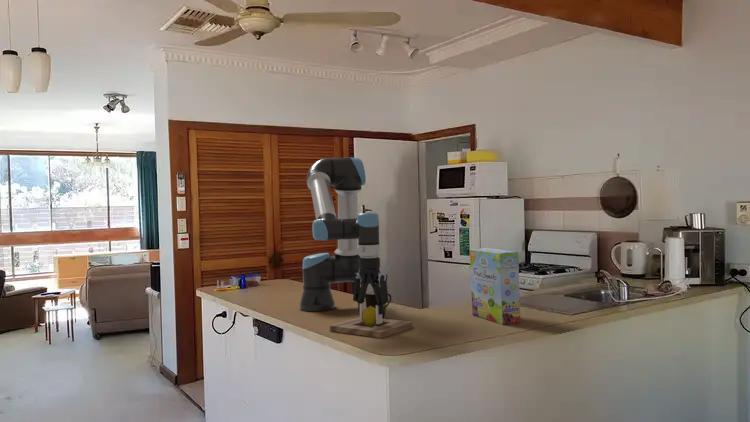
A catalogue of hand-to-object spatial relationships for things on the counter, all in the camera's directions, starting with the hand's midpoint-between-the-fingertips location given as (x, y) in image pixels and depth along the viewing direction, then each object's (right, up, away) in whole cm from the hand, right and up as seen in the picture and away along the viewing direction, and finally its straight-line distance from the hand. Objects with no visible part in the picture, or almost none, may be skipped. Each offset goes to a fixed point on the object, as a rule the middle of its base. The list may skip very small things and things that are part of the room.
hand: (371, 322), depth 198 cm
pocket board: (0, -2, 0) cm, 2 cm away
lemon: (0, -2, 0) cm, 2 cm away
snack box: (+46, -1, +11) cm, 47 cm away
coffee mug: (+3, -2, +19) cm, 20 cm away
